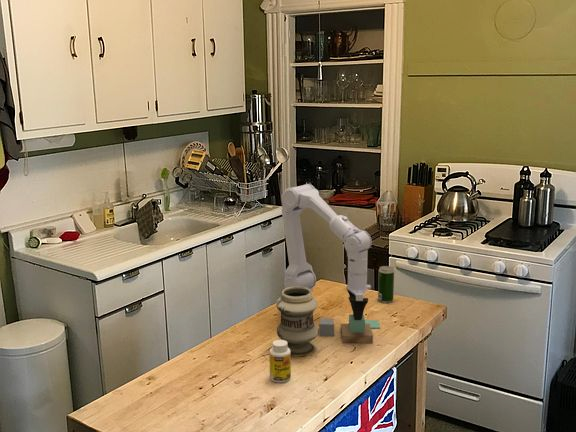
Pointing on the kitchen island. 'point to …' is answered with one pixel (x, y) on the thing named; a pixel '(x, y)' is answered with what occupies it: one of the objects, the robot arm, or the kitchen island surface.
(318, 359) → the kitchen island surface
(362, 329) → the teal block
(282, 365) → the supplement bottle
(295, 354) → the apothecary jar
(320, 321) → the slate block
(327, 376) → the kitchen island surface
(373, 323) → the teal square tile
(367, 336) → the walnut block
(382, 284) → the beer can
